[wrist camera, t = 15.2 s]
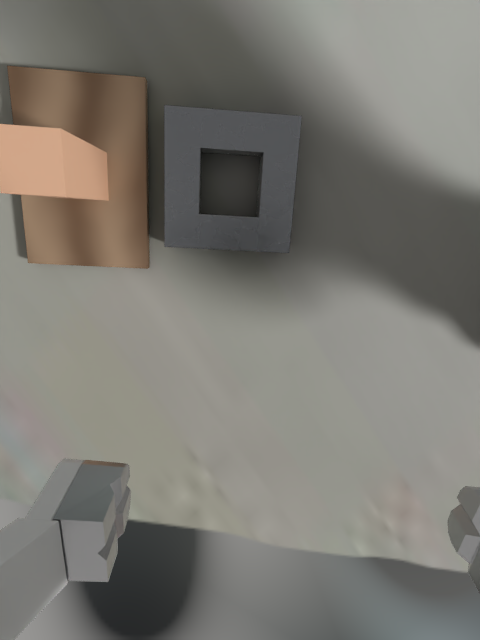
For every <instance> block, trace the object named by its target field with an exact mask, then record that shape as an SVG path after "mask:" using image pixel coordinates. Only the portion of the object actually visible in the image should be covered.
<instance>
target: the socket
mask: <svg viewBox="0 0 480 640" xmlns="http://www.w3.org/2000/svg"><path fill="white" fill-rule="evenodd" d="M301 119H302V116H295V115H283V114H270V113H258V112H245V111H232V110H220V109H207V108H194V107H182V106H169V105H164V174H165V247H182V248H202V249H221V250H241V251H261V252H281V253H289V248H290V237H291V226H292V216H293V205H294V194H295V183H296V172H297V162H298V151H299V140H300V129H301ZM201 152H206V153H220V154H234V155H249V156H260V169H259V184H258V199H257V214H256V217H247V216H229V215H212V214H200V192H201Z"/></svg>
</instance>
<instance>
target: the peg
mask: <svg viewBox="0 0 480 640" xmlns="http://www.w3.org/2000/svg"><path fill="white" fill-rule="evenodd" d="M0 190H1V193H7V194H19V195H32V196H45V197H57V198H72V199H89V200H106V201H109V194H108V170H107V152H105V151H103V150H101V149H99V148H97V147H95V146H93V145H91V144H89V143H87V142H86V141H84V140H82V139H80V138H78V137H76V136H74V135H72V134H70V133H68V132H67V131H65V130H63V129H61V128H48V127H35V126H21V125H7V124H0Z"/></svg>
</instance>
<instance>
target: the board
mask: <svg viewBox="0 0 480 640" xmlns="http://www.w3.org/2000/svg"><path fill="white" fill-rule="evenodd" d="M7 68H8V77H9V87H10V96H11V106H12V115H13V125H21V126H35V127H48V128H61V129H63V130H65V131H67V132H68V133H70V134H72V135H74V136H76V137H78V138H80V139H82V140H84V141H86V142H87V143H89V144H91V145H93V146H95V147H97V148H99V149H101V150H103V151H105V152H107V170H108V194H109V201H106V200H89V199H72V198H57V197H45V196H32V195H21V201H22V210H23V220H24V229H25V239H26V248H27V258H28V263H38V264H59V265H81V266H103V267H125V268H146V269H148V268H149V191H148V114H147V80H146V78H145V77H135V76H123V75H111V74H99V73H88V72H76V71H64V70H52V69H40V68H28V67H17V66H7Z"/></svg>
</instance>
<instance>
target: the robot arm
mask: <svg viewBox="0 0 480 640" xmlns="http://www.w3.org/2000/svg"><path fill="white" fill-rule="evenodd" d="M129 477H130V470H129V465H128V464H125V463H114V462H103V461H92V460H77V459H66V458H64V459H63V460H62V461H61V462H60V463H58V465H57V467H56V468H55V470H54V472H53V473H52V475H51V476H50V478H49V480H48V481H47V483H46V485H45V486H44V488H43V490H42V491H41V493H40V494H39V496H38V498H37V499H36V501H35V503H34V504H33V506H32V507H31V509H30V511H29V513H28V514H27V516H26V517H25V519H23V518H17V519H16V520H14V521H13V522H12V523H10V524H9V525H7V526H6V527H4V528H3V529H1V530H0V640H15V639H16V638H17V636H18V635H19V634H20V633H21V632H22V631H23V630H24V629H25V628H26V627H27V626H28V625H29V624H30V623H31V622H32V621H33V620H34V619H35V617H36V616H37V615H38V614H39V613H40V612H41V611H42V610H43V609H44V608H45V607H46V606H47V605H48V604H49V603H50V602H51V600H52V599H53V598H54V597H55V596H56V595H57V594H58V593H59V592H60V591H61V590H62V589H63V588H64V587H65V586H66V585H67V581H96V582H108V580H109V577H110V574H111V571H112V568H113V565H114V561H115V558H116V555H117V552H118V548H117V538H118V537H120V536H121V535H122V534H123V533H124V530H125V527H126V523H127V520H128V515H129V509H130V500H131V490H130V489H129V488H128V487H127V483H128V480H129ZM457 498H458V501H459V503H460V505H459V506H457V507H456V508H454V509H453V510H452V511H451V513H450V516H449V518H448V533H449V537H450V540H451V543H452V545H453V546H454V548H455V550H456V552H457V554H459V555H460V556H461V557H462V558H463V559H465V560H466V561H467V562H468V563H469V566H468V574H469V575H470V577H471V579H472V581H473V582H474V584H475V586H476V588H477V590H478V591H479V593H480V487H472V486H465V487H464V488H462V489H461V490H460V492H459V494H458V496H457Z"/></svg>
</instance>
